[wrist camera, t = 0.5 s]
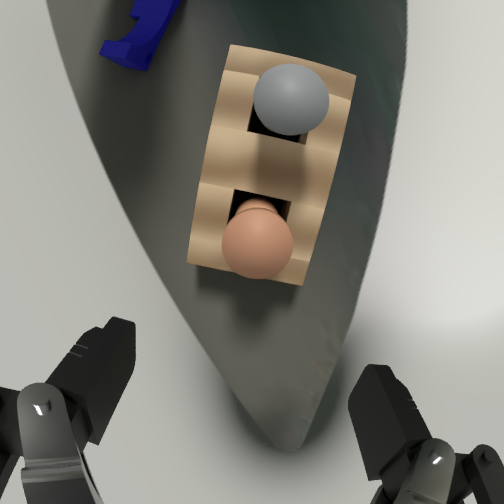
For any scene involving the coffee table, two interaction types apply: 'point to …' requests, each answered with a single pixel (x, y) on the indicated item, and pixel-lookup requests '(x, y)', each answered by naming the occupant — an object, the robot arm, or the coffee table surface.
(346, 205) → the coffee table surface
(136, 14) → the cable clip
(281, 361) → the coffee table surface
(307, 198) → the oak board
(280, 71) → the grey plunger
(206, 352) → the coffee table surface
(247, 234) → the terracotta plunger
